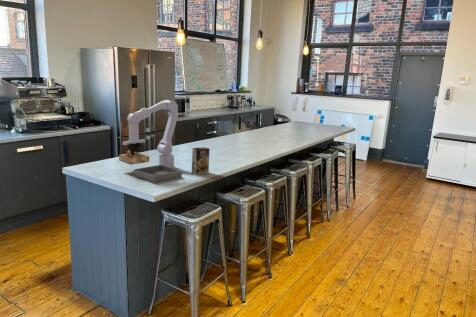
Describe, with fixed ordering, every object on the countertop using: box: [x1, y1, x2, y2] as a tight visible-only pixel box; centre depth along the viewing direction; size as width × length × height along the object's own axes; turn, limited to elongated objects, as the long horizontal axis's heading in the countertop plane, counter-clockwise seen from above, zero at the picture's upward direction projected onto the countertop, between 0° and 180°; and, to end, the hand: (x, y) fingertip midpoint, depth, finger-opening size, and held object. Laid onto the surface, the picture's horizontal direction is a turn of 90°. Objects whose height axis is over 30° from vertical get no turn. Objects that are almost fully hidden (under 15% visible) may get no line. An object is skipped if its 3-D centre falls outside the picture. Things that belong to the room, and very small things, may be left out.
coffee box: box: [191, 146, 210, 176], centre depth 227 cm, size 9×6×16 cm
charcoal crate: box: [133, 164, 183, 184], centre depth 216 cm, size 20×20×4 cm
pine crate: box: [118, 149, 150, 166], centre depth 224 cm, size 13×13×6 cm
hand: (134, 155), depth 223 cm, fingers closed on pine crate
